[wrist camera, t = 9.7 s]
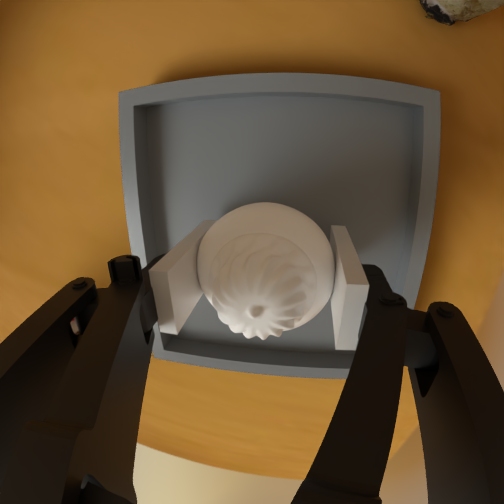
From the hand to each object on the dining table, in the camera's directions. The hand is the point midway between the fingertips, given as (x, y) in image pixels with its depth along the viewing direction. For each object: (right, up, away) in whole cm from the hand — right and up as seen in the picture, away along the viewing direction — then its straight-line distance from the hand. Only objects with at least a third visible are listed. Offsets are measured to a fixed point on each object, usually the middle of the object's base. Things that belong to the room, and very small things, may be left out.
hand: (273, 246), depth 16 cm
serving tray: (0, +1, +2) cm, 2 cm away
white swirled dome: (0, 0, +1) cm, 0 cm away
